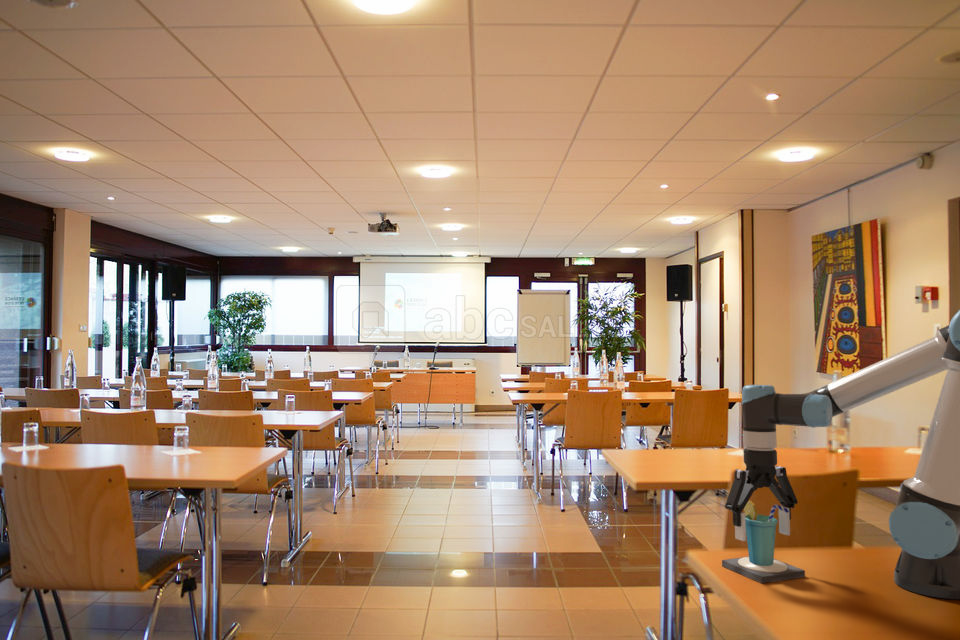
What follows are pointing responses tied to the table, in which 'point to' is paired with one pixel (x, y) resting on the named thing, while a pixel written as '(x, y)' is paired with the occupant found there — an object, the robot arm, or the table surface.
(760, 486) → the robot arm
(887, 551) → the table surface
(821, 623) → the table surface
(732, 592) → the table surface
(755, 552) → the cup
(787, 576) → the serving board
